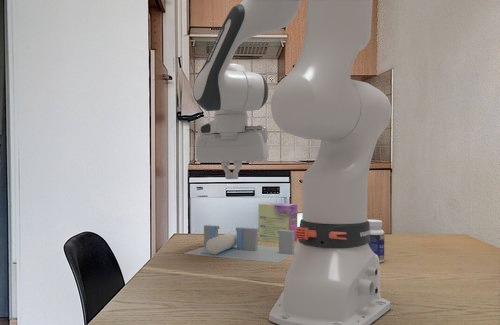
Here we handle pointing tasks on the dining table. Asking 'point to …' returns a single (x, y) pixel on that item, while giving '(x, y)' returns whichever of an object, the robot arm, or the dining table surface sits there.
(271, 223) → the box
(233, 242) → the cream bolster roll
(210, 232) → the base plate with posts
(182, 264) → the dining table surface
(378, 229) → the pill bottle
